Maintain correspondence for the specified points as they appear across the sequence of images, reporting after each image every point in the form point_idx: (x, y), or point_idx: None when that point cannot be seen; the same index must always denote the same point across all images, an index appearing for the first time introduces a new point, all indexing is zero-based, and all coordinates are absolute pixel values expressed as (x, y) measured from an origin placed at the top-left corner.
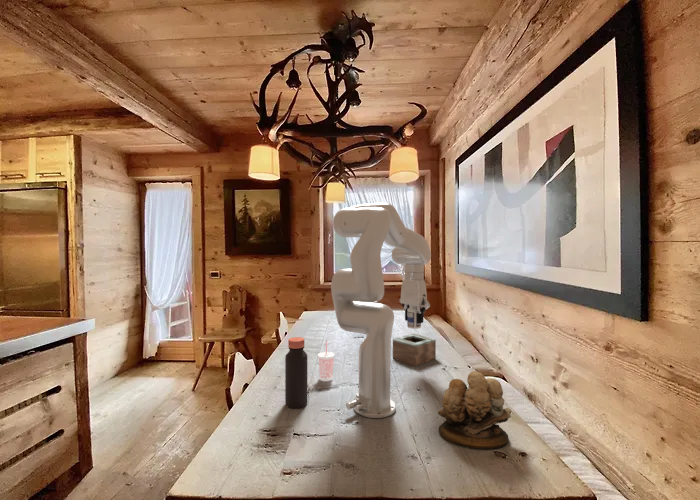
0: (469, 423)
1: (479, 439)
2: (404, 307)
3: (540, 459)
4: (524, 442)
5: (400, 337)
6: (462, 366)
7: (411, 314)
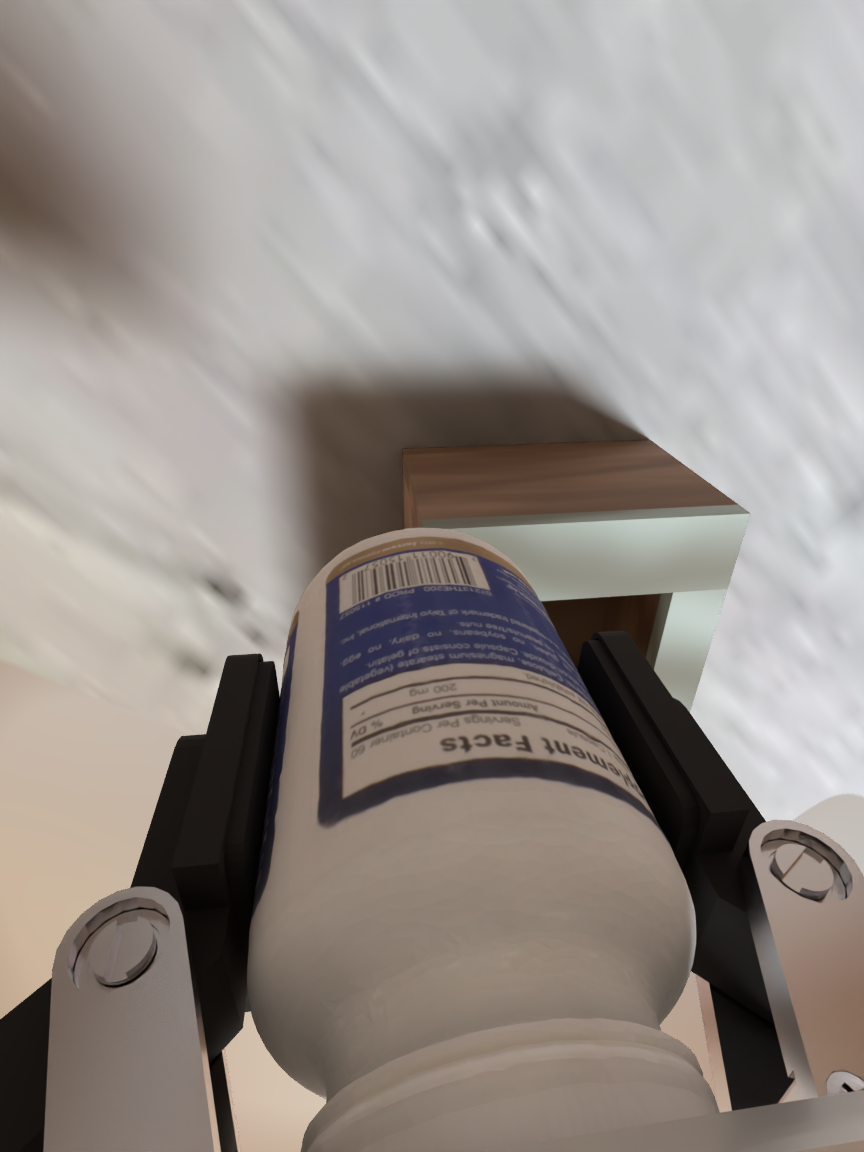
0: None
1: None
2: (851, 914)
3: None
4: None
5: (708, 612)
6: (189, 714)
7: (391, 739)
